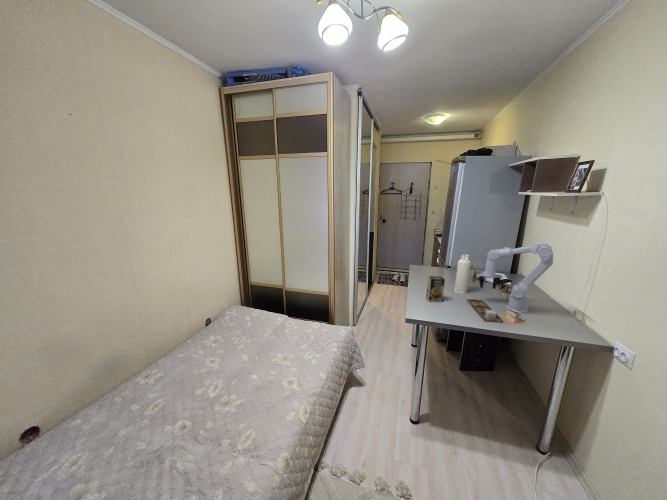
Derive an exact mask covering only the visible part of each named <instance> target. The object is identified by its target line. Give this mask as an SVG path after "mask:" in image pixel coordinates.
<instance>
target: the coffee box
mask: <svg viewBox="0 0 667 500" xmlns="http://www.w3.org/2000/svg"><path fill="white" fill-rule="evenodd" d="M445 283H446V279H445V278H444V277H442V276H438V275H437V276H436V275H435V276H433V275H432V276H430V275H429V276H427V286H426V294H425V295H426V296H425V298H426V300H427V301H428V302H433V303H434V302H435V303H439V302H441V303H442V302H443V299H444V298H443V296H444V289H445Z"/></svg>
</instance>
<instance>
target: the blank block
mask: <svg viewBox="0 0 667 500" xmlns="http://www.w3.org/2000/svg"><path fill="white" fill-rule="evenodd" d="M496 314H497V312H496V311H494V310H493V309H492V310H486V311H485V317H486V318H487V319H495V318H496Z"/></svg>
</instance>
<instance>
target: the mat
mask: <svg viewBox="0 0 667 500" xmlns="http://www.w3.org/2000/svg"><path fill="white" fill-rule="evenodd" d="M498 316H499V317H500V318H501V319H502V320H503V322H505V323H506V324H509V325H519V326H520V325H522V326H527V325H528V324H527V323H526V322H525V321H523V320H522V319H521V318H520V321H518V322H512V321H510V320H508V319H505V316H506V314H498Z"/></svg>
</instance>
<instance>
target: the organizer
mask: <svg viewBox="0 0 667 500" xmlns="http://www.w3.org/2000/svg"><path fill="white" fill-rule="evenodd" d="M466 302H467V303H468V304H469V306H470V307H471V308H472V309H473V310H474V311H475V312H476V313H477V315H478V316H479V317H480V318H481V319H482V320H483V321H484V322H486V323H489V322H490V323H500V324H502V323H504V320H503V319H502V318H501V317H500V316H499V314H497V313H496V318H495V319H487V318H486V317H485V311H486V310H493V309H492V308H491V307H490V306H489V305H488V304H487V303H486V302H485V301H484V300H483V299H477V298H475V299H474V298H466Z"/></svg>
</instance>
